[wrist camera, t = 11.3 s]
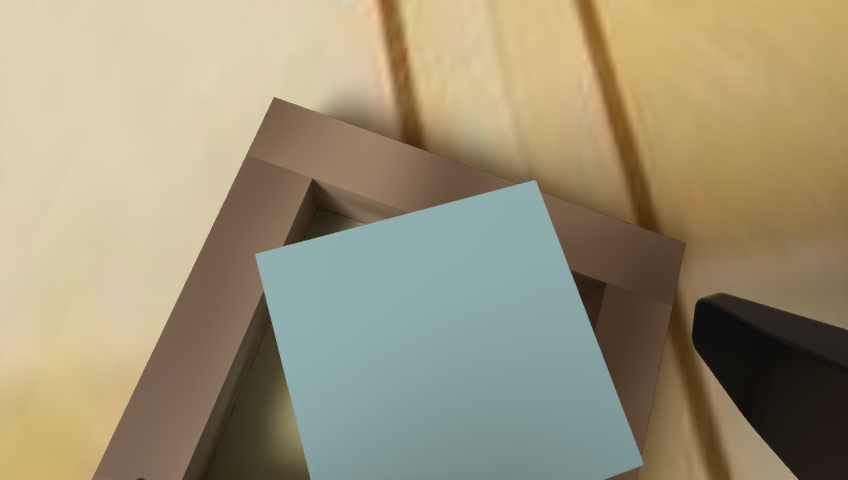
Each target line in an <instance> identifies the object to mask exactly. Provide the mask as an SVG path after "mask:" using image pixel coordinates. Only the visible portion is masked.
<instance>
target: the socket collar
mask: <svg viewBox="0 0 848 480" xmlns="http://www.w3.org/2000/svg"><path fill="white" fill-rule="evenodd" d="M514 185H518V184H517V183H514V182H512V181H509V180H506V179H503V178H500V177H497V176H495V175H492V174H489V173H486V172H483V171H481V170H478V169H475V168H472V167H469V166H467V165H464V164H461V163H458V162H455V161H452V160H450V159H447V158H444V157H441V156H438V155H436V154H433V153H430V152H427V151H424V150H422V149H419V148H416V147H413V146H410V145H408V144H405V143H402V142H399V141H396V140H393V139H391V138H388V137H385V136H382V135H379V134H377V133H374V132H371V131H368V130H365V129H363V128H360V127H357V126H354V125H351V124H348V123H346V122H343V121H340V120H337V119H334V118H332V117H329V116H326V115H323V114H320V113H318V112H315V111H312V110H309V109H306V108H304V107H301V106H298V105H295V104H292V103H289V102H287V101H284V100H281V99H278V98H275V97H274V98H273V101H272V103H271V105H270V107H269V109H268V111H267V113H266V115H265V117H264V119H263V122H262V124H261V126H260V128H259V130H258V132H257V134H256V136H255V138H254V140H253V143H252V145H251V147H250V149H249V151H248V153H247V155H246V157H245V159H244V161H243V163H242V166H241V168H240V170H239V172H238V174H237V176H236V178H235V180H234V182H233V184H232V187H231V189H230V191H229V193H228V195H227V197H226V199H225V201H224V203H223V205H222V208H221V210H220V212H219V214H218V216H217V218H216V220H215V222H214V224H213V226H212V229H211V231H210V233H209V235H208V237H207V239H206V241H205V243H204V245H203V247H202V250H201V252H200V254H199V256H198V258H197V260H196V262H195V264H194V266H193V268H192V271H191V273H190V275H189V277H188V279H187V281H186V283H185V285H184V287H183V289H182V292H181V294H180V296H179V298H178V300H177V302H176V304H175V306H174V308H173V310H172V313H171V315H170V317H169V319H168V321H167V323H166V325H165V327H164V329H163V331H162V334H161V336H160V338H159V340H158V342H157V344H156V346H155V348H154V350H153V352H152V355H151V357H150V359H149V361H148V363H147V365H146V367H145V369H144V371H143V373H142V376H141V378H140V380H139V382H138V384H137V386H136V388H135V390H134V392H133V394H132V396H131V399H130V401H129V403H128V405H127V407H126V409H125V411H124V413H123V415H122V417H121V420H120V422H119V424H118V426H117V428H116V430H115V432H114V434H113V436H112V438H111V441H110V443H109V445H108V447H107V449H106V451H105V453H104V455H103V457H102V459H101V462H100V464H99V466H98V468H97V470H96V472H95V474H94V476H93V478H92V480H133V479H136V478H144V479H145V480H203V479H204V477H205V475H206V472H207V470H208V467H209V465H210V463H211V460H212V458H213V456H214V453H215V451H216V449H217V446H218V444H219V441H220V439H221V437H222V434H223V432H224V430H225V427H226V425H227V422H228V420H229V418H230V415H231V413H232V411H233V408H234V406H235V403H236V401H237V399H238V396H239V394H240V392H241V389H242V387H243V384H244V382H245V380H246V377H247V375H248V373H249V370H250V368H251V365H252V363H253V361H254V358H255V356H256V354H257V351H258V349H259V347H260V344H261V342H262V339H263V337H264V335H265V332H266V330H267V328H268V325H269V323H270V320H271V317H270V313H269V309H268V305H267V301H266V297H265V293H264V289H263V285H262V281H261V277H260V273H259V268H258V264H257V260H256V256H255V254H257V253H261V252H265V251H268V250H272V249H276V248H280V247H284V246H287V245H291V244H295V243H299V242H302V241H304V240H305V237H306V235H307V233H308V230H309V228H310V226H311V223H312V221H313V218H314V216H315V214H316V211H317V209H318V207H320V208H323V209H326V210H328V211H331V212H334V213H337V214H340V215H342V216H345V217H348V218H351V219H354V220H356V221H359V222H362V223H365V224H370V223H374V222H378V221H382V220H386V219H389V218H393V217H397V216H401V215H404V214H408V213H412V212H416V211H420V210H423V209H427V208H431V207H435V206H438V205H442V204H446V203H450V202H454V201H457V200H461V199H465V198H469V197H472V196H476V195H480V194H484V193H488V192H491V191H495V190H499V189H503V188H506V187H510V186H514ZM540 193H541V195H542V198H543V201H544V203H545V206H546V208H547V211H548V214H549V216H550V219H551V222H552V224H553V227H554V229H555V232H556V235H557V237H558V240H559V243H560V245H561V248H562V250H563V253H564V256H565V258H566V261H567V264H568V266H569V269H570V271H571V274H572V277H573V279H574V282H575V285H576V287H577V290H578V292H579V295H580V298H581V300H582V303H583V306H584V308H585V311H586V313H587V316H588V319H589V321H590V324H591V327H592V329H593V332H594V334H595V337H596V340H597V342H598V345H599V347H600V350H601V353H602V355H603V358H604V361H605V363H606V366H607V368H608V371H609V374H610V376H611V379H612V382H613V384H614V387H615V389H616V392H617V395H618V397H619V400H620V403H621V405H622V408H623V410H624V413H625V416H626V418H627V421H628V424H629V426H630V429H631V431H632V434H633V437H634V439H635V442H636V445H637V447H638V450H639V452H640V455H642V450H643V446H644V441H645V436H646V431H647V426H648V422H649V417H650V412H651V407H652V402H653V398H654V393H655V388H656V383H657V379H658V374H659V369H660V364H661V359H662V355H663V350H664V345H665V340H666V335H667V331H668V326H669V321H670V316H671V311H672V307H673V302H674V297H675V292H676V287H677V283H678V278H679V273H680V268H681V263H682V259H683V254H684V249H685V244H686V243H683V242H680V241H677V240H675V239H672V238H669V237H666V236H663V235H660V234H658V233H655V232H652V231H649V230H646V229H644V228H641V227H638V226H635V225H632V224H630V223H627V222H624V221H621V220H618V219H615V218H613V217H610V216H607V215H604V214H601V213H599V212H596V211H593V210H590V209H587V208H585V207H582V206H579V205H576V204H573V203H571V202H568V201H565V200H562V199H559V198H556V197H554V196H551V195H548V194H545V193H542V192H540ZM638 470H639V467H637V468H634V469H631V470H629V471H626V472H623V473H621V474H618V475H615V476H612V477H610V478H607V479H604V480H636V479H637V474H638Z"/></svg>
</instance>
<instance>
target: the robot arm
mask: <svg viewBox="0 0 848 480" xmlns="http://www.w3.org/2000/svg"><path fill="white" fill-rule="evenodd" d="M692 341H693V344H694V347H695V349H696V351H697V352H698V354H699V355H700V356H701V358H702V359H703V360H704V362H705V363H706V365H707V366H708V367H709V369H710V370H711V372H712V373H713V374H714V376H715V377H716V378H717V380H718V381H719V383H720V384H721V385H722V387H723V388H724V390H725V391H726V392H727V394H728V395H729V396H730V398H731V399H732V401H733V402H734V403H735V405H736V406H737V408H738V409H739V410H740V412H741V413H742V414H743V416H744V417H745V418H746V419H747V421H748V422H749V423H750V425H751V426H752V427H753V428H754V429H755V431H756V432H757V433H758V434H759V435H760V436H761V438H762V439H763V440H764V441H765V442H766V443H767V444H768V446H769V447H770V448H771V449H772V450H773V451H774V452H775V453H776V455H777V456H778V457H779V458H780V459H781V460H782V461H783V463H784V464H785V465H786V466H787V467H788V468H789V469H790V470H791V472H792V473H793V474H794V475H795V476H796V477H797V478H798V480H848V330H847V329H843V328H840V327H836V326H833V325H830V324H826V323H823V322H820V321H816V320H813V319H810V318H806V317H803V316H800V315H796V314H793V313H789V312H786V311H783V310H779V309H776V308H773V307H769V306H766V305H763V304H759V303H756V302H752V301H749V300H746V299H742V298H739V297H736V296H732V295H729V294H726V293H716V294H712V295H709V296H706V297H703V298H700V299H699V300H698V301H697V303H696V305H695V312H694V321H693V330H692ZM133 480H145V479H144V478H136V479H133Z"/></svg>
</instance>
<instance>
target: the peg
mask: <svg viewBox="0 0 848 480" xmlns="http://www.w3.org/2000/svg"><path fill="white" fill-rule="evenodd" d="M255 256H256V260H257V264H258V268H259V273H260V277H261V281H262V285H263V289H264V293H265V297H266V301H267V305H268V309H269V313H270V317H271V321H272V325H273V329H274V333H275V337H276V341H277V345H278V350H279V354H280V358H281V362H282V366H283V370H284V374H285V378H286V382H287V386H288V390H289V394H290V398H291V402H292V406H293V410H294V414H295V418H296V422H297V426H298V431H299V435H300V439H301V443H302V447H303V451H304V455H305V459H306V463H307V467H308V471H309V475H310V479H311V480H604V479H607V478H610V477H612V476H615V475H618V474H621V473H623V472H626V471H629V470H631V469H634V468H637V467H639V466H642V465H644V463H643V460H642V458H641V455H640V452H639V450H638V447H637V445H636V442H635V439H634V437H633V434H632V431H631V429H630V426H629V424H628V421H627V418H626V416H625V413H624V410H623V408H622V405H621V403H620V400H619V397H618V395H617V392H616V389H615V387H614V384H613V382H612V379H611V376H610V374H609V371H608V368H607V366H606V363H605V361H604V358H603V355H602V353H601V350H600V347H599V345H598V342H597V340H596V337H595V334H594V332H593V329H592V327H591V324H590V321H589V319H588V316H587V313H586V311H585V308H584V306H583V303H582V300H581V298H580V295H579V292H578V290H577V287H576V285H575V282H574V279H573V277H572V274H571V271H570V269H569V266H568V264H567V261H566V258H565V256H564V253H563V250H562V248H561V245H560V243H559V240H558V237H557V235H556V232H555V229H554V227H553V224H552V222H551V219H550V216H549V214H548V211H547V208H546V206H545V203H544V201H543V198H542V195H541V193H540V190H539V187H538V185H537V182H536V180H533V181H529V182H525V183H522V184H518V185H514V186H510V187H506V188H503V189H499V190H495V191H491V192H488V193H484V194H480V195H476V196H472V197H469V198H465V199H461V200H457V201H454V202H450V203H446V204H442V205H438V206H435V207H431V208H427V209H423V210H420V211H416V212H412V213H408V214H404V215H401V216H397V217H393V218H389V219H386V220H382V221H378V222H374V223H370V224H367V225H363V226H359V227H355V228H352V229H348V230H344V231H340V232H336V233H333V234H329V235H325V236H321V237H318V238H314V239H310V240H306V241H302V242H299V243H295V244H291V245H287V246H284V247H280V248H276V249H272V250H268V251H265V252H261V253H257V254H255Z"/></svg>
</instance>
